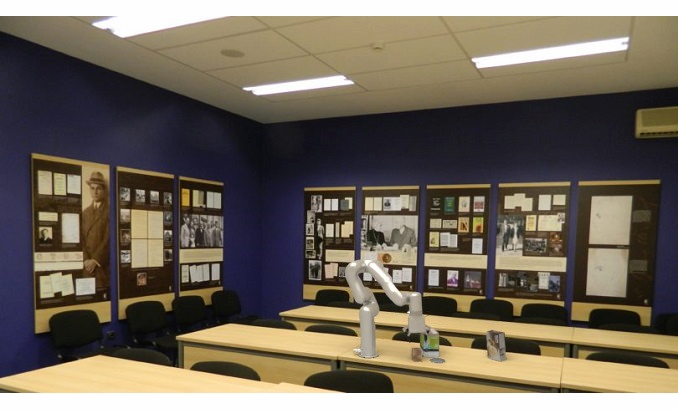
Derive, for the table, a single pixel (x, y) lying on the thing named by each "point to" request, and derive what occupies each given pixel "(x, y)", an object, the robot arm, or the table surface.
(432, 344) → the tea box
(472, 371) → the table surface
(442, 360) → the coaster
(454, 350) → the table surface
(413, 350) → the block
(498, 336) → the coffee box
